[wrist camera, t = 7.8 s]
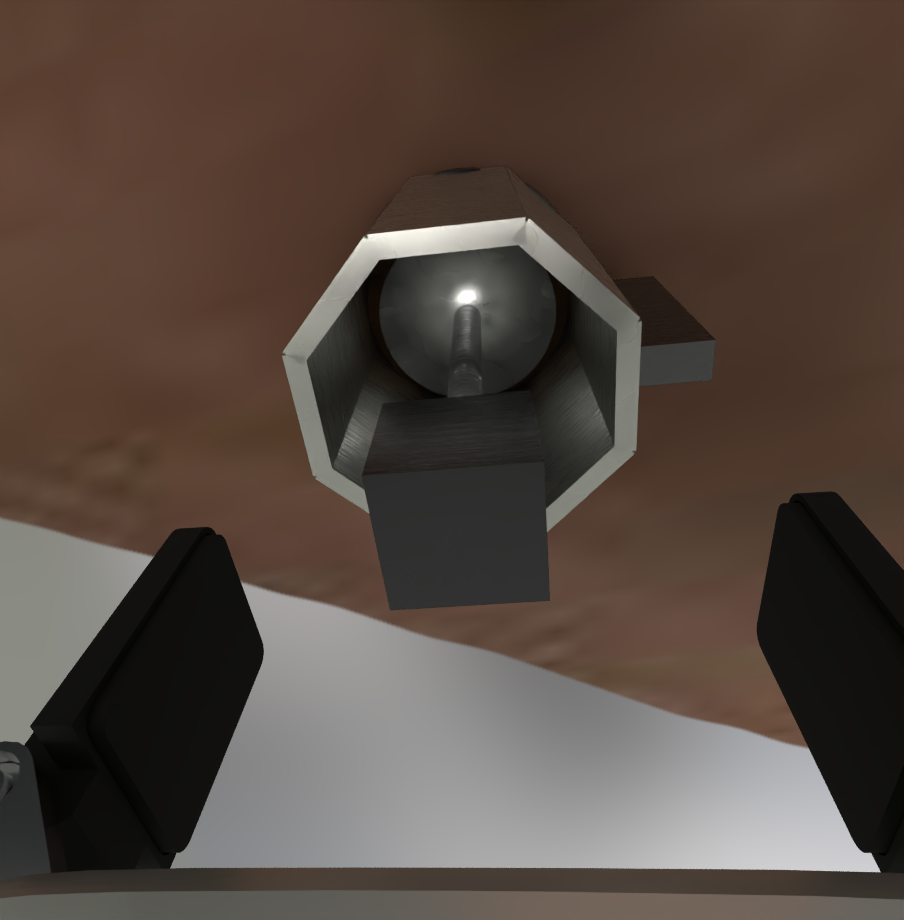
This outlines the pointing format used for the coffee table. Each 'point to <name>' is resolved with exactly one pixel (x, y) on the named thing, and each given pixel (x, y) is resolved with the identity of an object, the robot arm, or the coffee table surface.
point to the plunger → (462, 432)
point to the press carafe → (551, 382)
